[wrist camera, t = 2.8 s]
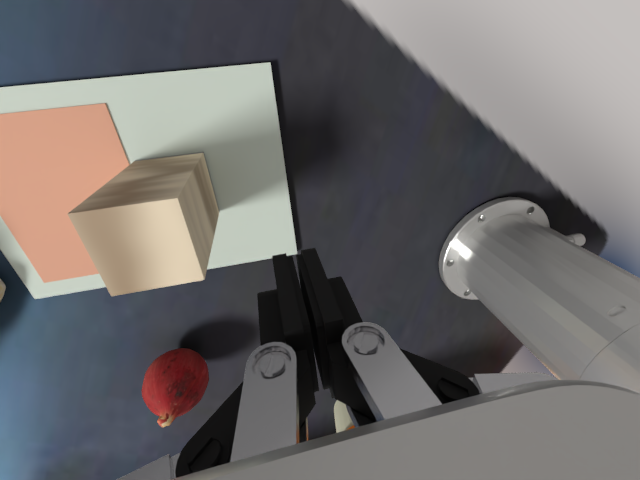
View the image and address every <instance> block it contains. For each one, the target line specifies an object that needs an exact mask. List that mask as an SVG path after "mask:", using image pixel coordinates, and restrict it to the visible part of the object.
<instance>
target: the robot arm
mask: <svg viewBox="0 0 640 480" xmlns="http://www.w3.org/2000/svg"><path fill="white" fill-rule="evenodd" d="M585 240H586V239H585V237H584V236H583V235H582V234H580V233H576V234H571V235H567V236H565V235H563V234H561V233H559V232H557V231H555V230H553V229H551V228H550V224H549V221H548V217H547V215H546V214H545V212H544V210H543V209H542V208H540V207H539V206H538V205H537V204H535V203H533V202H531V201H529V200H527V199H523V198H519V197H505V198H498V199H495V200H492V201H490V202H487V203H485V204H483V205H481V206H479V207H477V208H476V209H474V210H473V211H472V212H470V213H469V214H467V215H466V216H465V217H464V218H463V219H462V220H461V221H460V222H459V223H458V224H457V225H456V226H455V227H454V229H453V230H452V231H451V232H450V234H449V236H448V237H447V239H446V241H445V243H444V245H443V248H442V250H441V253H440V259H439V272H440V276H441V279H442V280H443V282H444V284H445V285H446V286H447V287H448V288H449V289H450V290H451V292H453V293H454V294H456V295H457V296H459V297H462V298H465V299H479V300H480V301H481V302H482V303H483V304H484V305H485V306H486V307H487V308H488V309H489V310H490V311H491V312H492V313H493V314H494V315H495V316H496V317H497V318H498V319H499V320H500V321H501V322H502V323H503V324H504V325H505V326H506V327H507V328H508V329H509V330H510V331H511V332H512V333H513V334H514V335H515V336H516V337H517V338H518V339H519V340H520V341H521V342H522V343H523V344H524V345H525V346H526V347H527V348H528V349H529V350H530V351H531V352H532V353H533V354H534V355H535V356H536V357H537V358H538V359H539V360H540V361H541V362H542V363H543V364H544V365H545V366H546V367H547V368H548V370H550V372H552V374H553V375H555V377H553V376H551V375H548V374H545V373H537V372H534V373H494V374H474V377H473V378H468V377H466V376H465V375H463V374H461V373H459V372H457V371H454V370H452V369H449V368H447V367H444V366H442V365H440V364H437V363H435V362H432V361H430V360H427V359H425V358H422V357H420V356H417V355H415V354H412V353H410V352H407V351H405V350H402V349H400V348H399V347H398V346H397V345H396V343H395V342H394V341H393V340H392V338H391V337H390V336H389V334H388V333H387V332H386V331H385V330H384V329H383V328H382V327H380V326H378V325H376V324H373V323H369V322H363V321H362V319H361V317H360V315H359V313H358V311H357V309H356V306H355V304H354V302H353V300H352V298H351V296H350V294H349V291H348V289H347V287H346V285H345V283H344V281H343V279H342V277H336V278H331V279H327V277H326V274H325V272H324V269H323V267H322V264H321V262H320V259H319V257H318V254H317V252H316V249H315V248H312V249H306V250H301V254H300V255H296V257H297V264H298V271H299V278H300V284H299V280H298V277H297V273H296V269H295V265H294V261H293V257H292V256H289V257H287V255H286V253H285V254H279V255H274V256H272V259H273V265H274V272H275V278H276V285H277V289H275V290H270V291H265V292H260V293H258V310H259V326H260V342H261V346H260V347H258V348H257V349H256V350H255V351H253V352H252V354H251V355H250V357H249V358H248V361H247V364H246V370H245V376H244V381H243V382H242V383H241V384H240V386H239V387H238V388H237V389H236V390H235V391H234V392H233V393H232V394H231V395H230V397H229V398H228V399H227V400H226V401H225V402H224V403H223V404H222V405H221V406H220V407H219V409H218V410H217V411H216V412H215V413H214V414H213V415H212V416H211V417H210V418H209V420H208V421H207V422H206V423H205V424H204V425H203V426H202V427H201V428H200V429H199V431H198V432H197V433H196V434H195V435H194V436H193V437H192V438H191V439H190V440H189V441H188V443H187V444H186V445H185V447H184V448H183V450H182V451H181V453H179V454H177V455H175V456H173V457H170V455H169V454H168V455H166V456H164V457H162V458H160V459H158V460H156V461H154V462H152V463H150V464H148V465H146V466H144V467H142V468H139V469H137V470H135V471H133V472H131V473H129V474H127V475H125V476H123V477H121V478H119V479H117V480H640V278H638V277H636V276H634V275H633V274H631V273H629V272H627V271H625V270H623V269H621V268H620V267H618V266H616V265H614V264H612V263H610V262H608V261H606V260H605V259H603V258H601V257H599V256H597V255H595V254H593V253H592V252H590V251H588V250H586V249H584V248H582V247H580V246H582V245H584V244H585ZM300 285H301V288H300ZM313 349H314V350H313ZM314 353H315V357H316V361H317V365H318V369H319V373H320V377H321V381H322V385H323V389H328V388H330V392H331V396H332V398H335V399H337V400H338V401H340V402H342V403H344V404H346V408H347V411H348V414H349V416H350V418H351V420H352V422H353V424H354V426H355V428H353V429H349V430H345V431H342V432H338V433H334V434H331V435H327V436H323V437H320V438H316V439H312V440H309V441H308V421H307V416H308V415H309V413H310V412H311V410H312V409H313V407H314V405H315V404H316V403H315V396H314V392H316V391H319V387H318V380H317V372H316V365H315V357H314Z"/></svg>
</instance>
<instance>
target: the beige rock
mask: <svg viewBox="0 0 640 480" xmlns="http://www.w3.org/2000/svg"><path fill="white" fill-rule="evenodd" d="M5 289H6V286H5V284H4V282H3V281H2V280H1V279H0V302H1V300H2V298H3V296H4V293H5Z"/></svg>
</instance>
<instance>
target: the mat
mask: <svg viewBox="0 0 640 480" xmlns="http://www.w3.org/2000/svg"><path fill="white" fill-rule="evenodd" d="M198 152H204V154H205V158H206V161H207V165H208V169H209V173H210V176H211V180H212V184H213V188H214V191H215V195H216V199H217V203H218V207H219V210H220V212H219V217H218V221H217V226H216V230H215V235H214V239H213V244H212V248H211V253H210V257H209V262H208V266H207V269H212V268H218V267H224V266H230V265H235V264H241V263H247V262H253V261H258V260H264V259H270V258H272V256H274V255H279V254H285V253H286V255H293V254H297V248H296V241H295V234H294V227H293V220H292V212H291V205H290V198H289V191H288V184H287V177H286V170H285V163H284V156H283V148H282V141H281V134H280V127H279V120H278V113H277V106H276V99H275V92H274V84H273V77H272V70H271V63H270V62H268V63H257V64H246V65H236V66H225V67H214V68H203V69H193V70H182V71H171V72H160V73H150V74H139V75H128V76H117V77H107V78H96V79H85V80H74V81H64V82H53V83H42V84H32V85H21V86H10V87H0V250H1V251H2V252H3V254H4V255H5V257H6V258H7V260H8V261H9V263H10V264H11V265H12V267H13V268H14V270H15V271H16V273H17V274H18V276H19V277H20V278H21V280H22V281H23V283H24V284H25V286H26V287H27V289H28V290H29V291H30V293H31V294H32V296H33V297H34V299H39V298H45V297H51V296H56V295H62V294H68V293H74V292H80V291H85V290H91V289H97V288H103V287H106V285H105V283H104V282H103V280H102V278H101V276H100V274H99V272H98V270H97V268H96V267H95V265H94V263H93V261H92V259H91V257H90V255H89V253H88V252H87V250H86V248H85V246H84V244H83V242H82V240H81V238H80V237H79V235H78V233H77V231H76V229H75V227H74V225H73V223H72V222H71V220H70V218H69V216H68V213H69V212H70V211H72V210H73V209H74V208H75V207H77V206H78V205H79V204H81V203H82V202H83V201H84V200H86V199H87V198H88V197H89V196H91V195H92V194H93V193H95V192H96V191H97V190H98V189H100V188H101V187H102V186H103V185H105V184H106V183H107V182H109V181H110V180H111V179H112V178H114V177H115V176H116V175H117V174H119V173H120V172H121V171H123V170H124V169H125V168H126V167H128V166H129V165H130V164H131V163H133V162H134V161H135V160H142V159H150V158H158V157H166V156H174V155H182V154H190V153H198Z"/></svg>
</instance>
